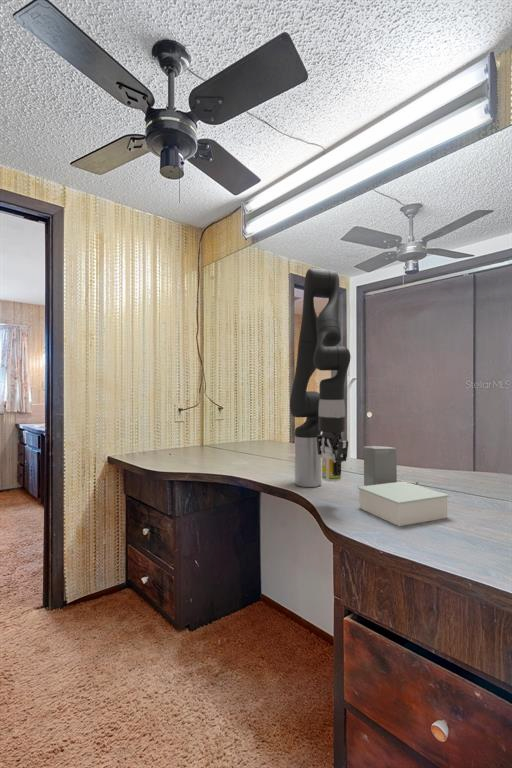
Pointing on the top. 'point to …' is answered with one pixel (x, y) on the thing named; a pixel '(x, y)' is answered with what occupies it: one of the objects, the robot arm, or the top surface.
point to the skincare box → (379, 465)
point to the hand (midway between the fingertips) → (331, 472)
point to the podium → (403, 503)
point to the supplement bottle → (328, 467)
